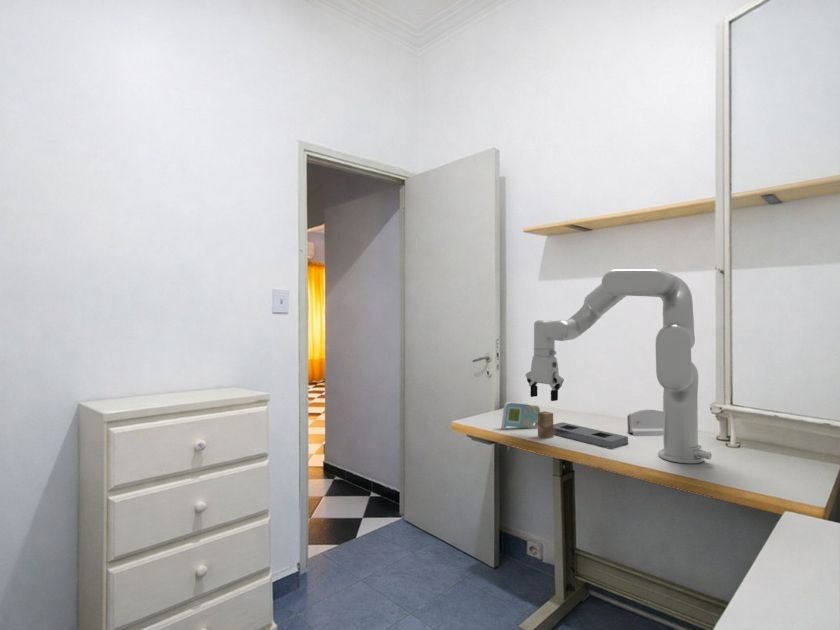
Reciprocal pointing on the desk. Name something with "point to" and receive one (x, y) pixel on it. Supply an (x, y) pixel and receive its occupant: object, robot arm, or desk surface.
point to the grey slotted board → (589, 435)
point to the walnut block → (545, 424)
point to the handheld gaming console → (520, 415)
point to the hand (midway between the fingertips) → (543, 398)
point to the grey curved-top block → (645, 423)
